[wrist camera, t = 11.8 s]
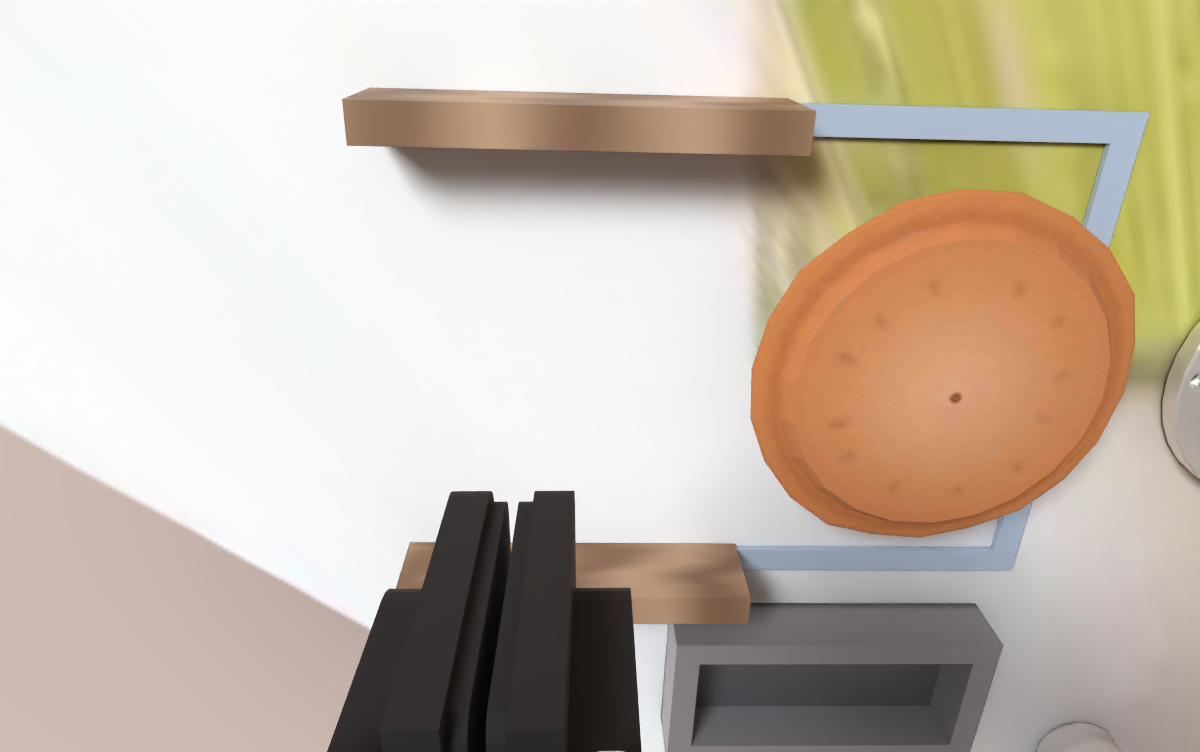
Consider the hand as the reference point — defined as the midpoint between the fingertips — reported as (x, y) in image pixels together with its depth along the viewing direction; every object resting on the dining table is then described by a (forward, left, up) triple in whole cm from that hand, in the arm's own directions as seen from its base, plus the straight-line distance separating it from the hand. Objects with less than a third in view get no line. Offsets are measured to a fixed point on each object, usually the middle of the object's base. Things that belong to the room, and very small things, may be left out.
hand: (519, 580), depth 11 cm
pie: (-16, +6, -24) cm, 29 cm away
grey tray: (-14, +25, -24) cm, 37 cm away
